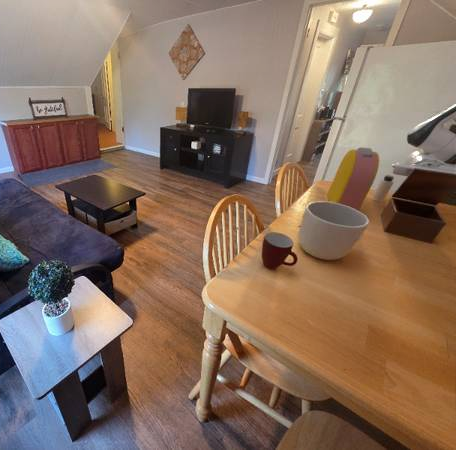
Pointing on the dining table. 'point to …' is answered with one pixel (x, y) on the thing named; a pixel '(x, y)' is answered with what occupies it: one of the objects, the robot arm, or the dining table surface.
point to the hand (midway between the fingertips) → (432, 178)
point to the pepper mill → (383, 188)
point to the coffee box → (412, 220)
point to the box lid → (426, 186)
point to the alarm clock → (354, 178)
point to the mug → (277, 250)
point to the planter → (331, 229)
